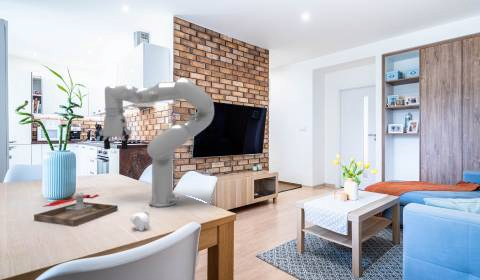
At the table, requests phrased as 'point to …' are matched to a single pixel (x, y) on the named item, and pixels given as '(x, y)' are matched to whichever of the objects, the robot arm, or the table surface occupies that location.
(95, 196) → the cloth
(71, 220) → the walnut box
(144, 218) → the elephant figurine
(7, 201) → the table surface
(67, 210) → the metal socket
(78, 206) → the rook chess piece
